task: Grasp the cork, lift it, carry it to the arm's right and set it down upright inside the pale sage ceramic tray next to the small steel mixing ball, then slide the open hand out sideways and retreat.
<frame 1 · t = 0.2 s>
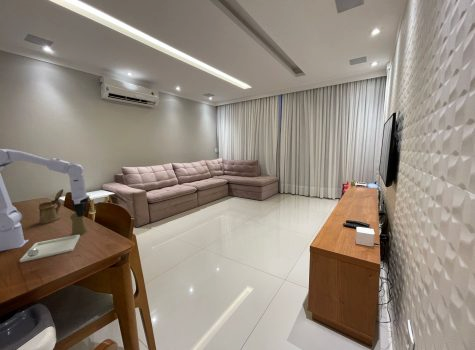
hand: (82, 214, 101), 10 cm above the table, fingers open, 7 cm apart
cork: (79, 234, 102), on the table
tray: (53, 248, 87), on the table
mixing ball: (33, 256, 80), point 1 cm above the table, touching tray
wooden mug: (54, 219, 123), on the table
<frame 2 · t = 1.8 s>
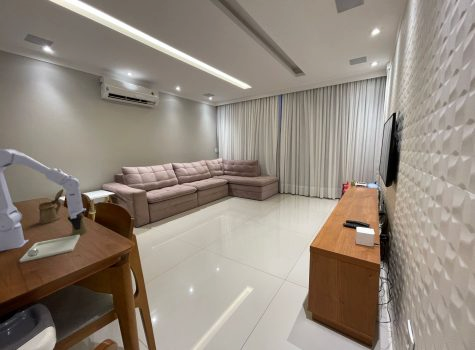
hand: (78, 227, 101), 3 cm above the table, fingers closed on cork, 5 cm apart
cork: (79, 234, 102), on the table, touching gripper
everything else where it was.
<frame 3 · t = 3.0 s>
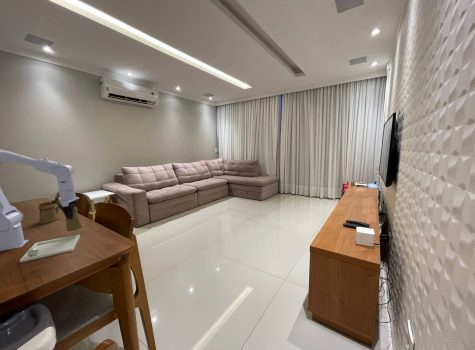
hand: (71, 217, 97), 10 cm above the table, fingers closed on cork, 5 cm apart
cork: (74, 228, 98), point 4 cm above the table, touching gripper
everything else where it was.
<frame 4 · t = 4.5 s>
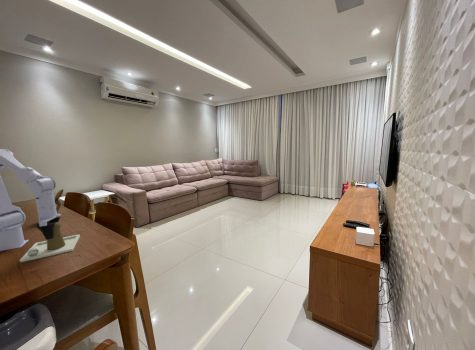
hand: (51, 236, 86), 6 cm above the table, fingers closed on cork, 5 cm apart
cork: (56, 247, 88), resting on tray, touching gripper
everything else where it was.
when the fingers open (6 cm above the table, at t = 5.1 s): cork stays where it is, resting on tray.
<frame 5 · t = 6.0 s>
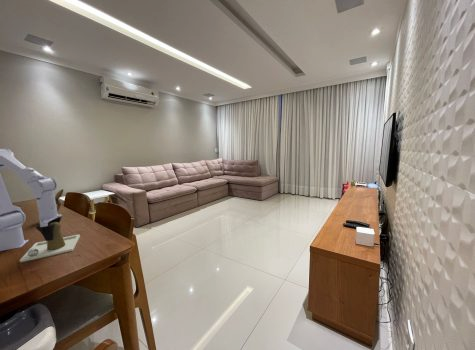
hand: (52, 236, 86), 6 cm above the table, fingers open, 7 cm apart
cork: (56, 247, 88), resting on tray
everything else where it was.
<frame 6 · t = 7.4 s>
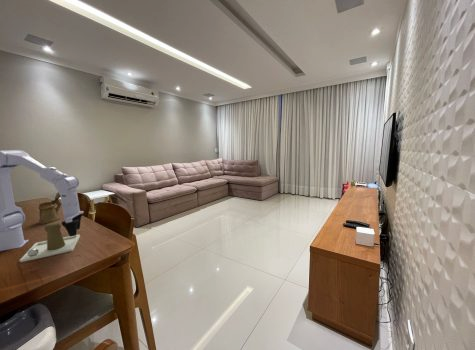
hand: (75, 232, 90), 6 cm above the table, fingers open, 7 cm apart
nothing on the table moved.
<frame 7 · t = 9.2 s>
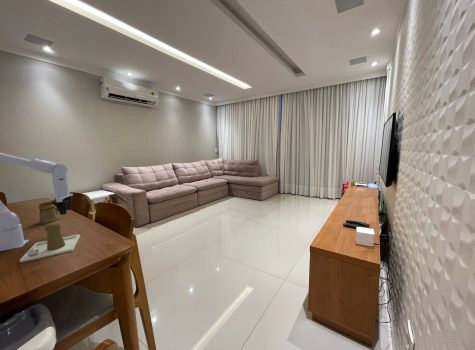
hand: (65, 212, 104), 10 cm above the table, fingers open, 7 cm apart
nothing on the table moved.
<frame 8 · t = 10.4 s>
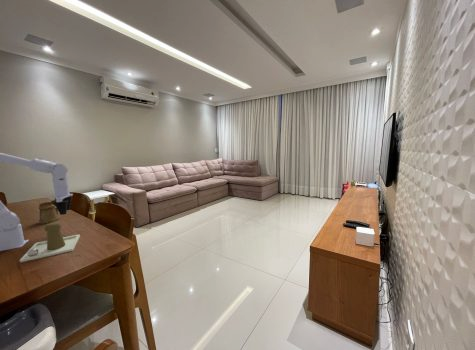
hand: (65, 212, 104), 10 cm above the table, fingers open, 7 cm apart
nothing on the table moved.
at the end: cork inside the target area on the tray (0.9 cm from its centre), point 0.4 cm above the tray's base; cork tilted 0°; the gripper is holding nothing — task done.
